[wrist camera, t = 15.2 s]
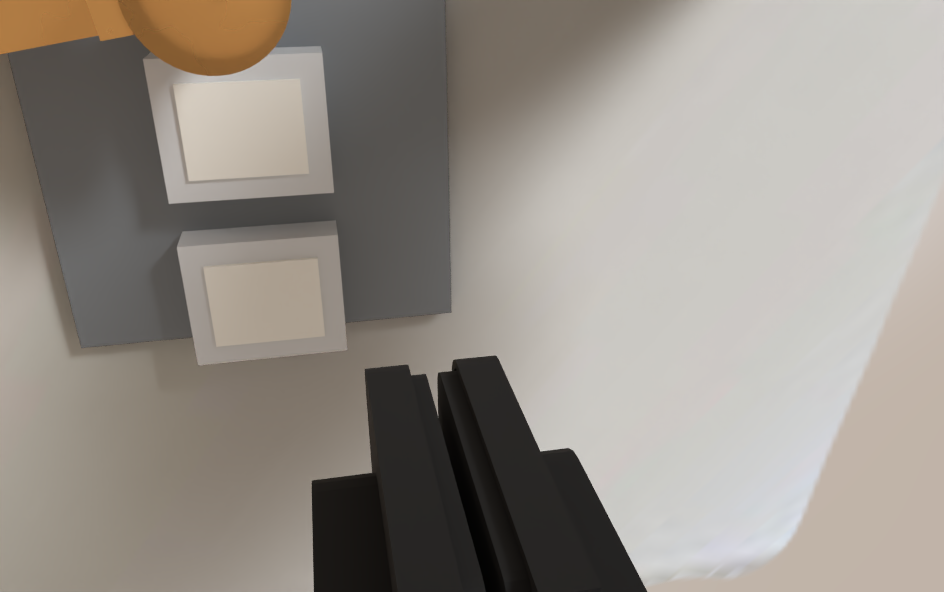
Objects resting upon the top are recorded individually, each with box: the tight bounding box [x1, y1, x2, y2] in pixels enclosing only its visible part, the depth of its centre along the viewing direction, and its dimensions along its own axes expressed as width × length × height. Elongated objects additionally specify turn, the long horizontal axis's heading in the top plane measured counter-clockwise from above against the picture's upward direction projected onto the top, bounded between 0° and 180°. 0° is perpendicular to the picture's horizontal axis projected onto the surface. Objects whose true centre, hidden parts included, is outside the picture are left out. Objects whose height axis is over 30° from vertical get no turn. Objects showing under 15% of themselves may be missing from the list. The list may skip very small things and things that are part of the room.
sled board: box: [8, 0, 451, 366], centre depth 33 cm, size 18×18×8 cm
